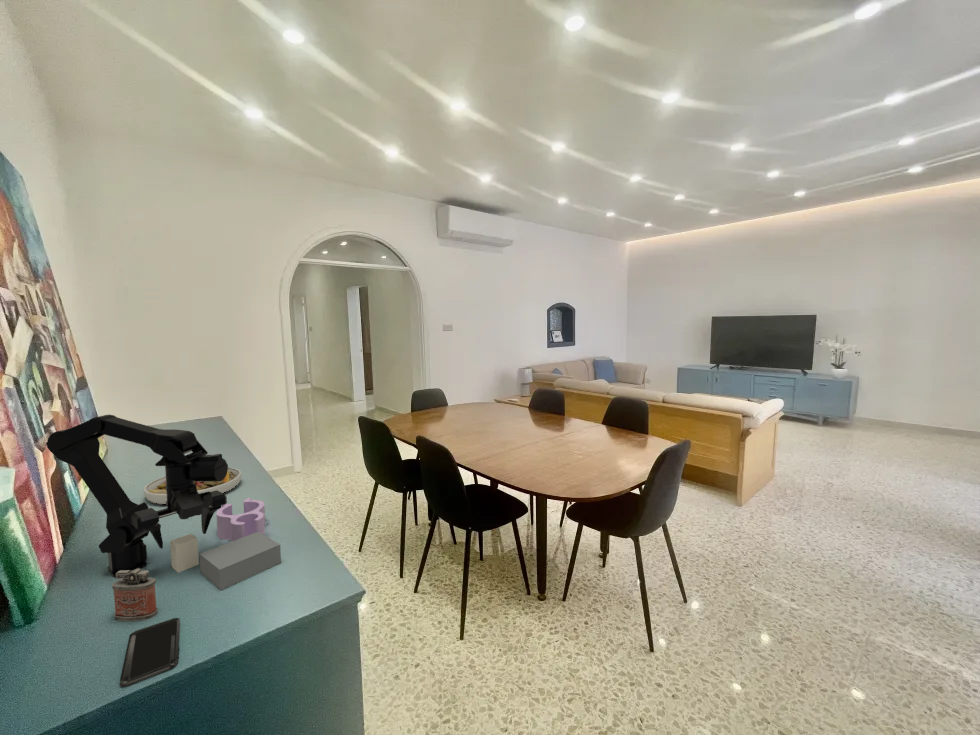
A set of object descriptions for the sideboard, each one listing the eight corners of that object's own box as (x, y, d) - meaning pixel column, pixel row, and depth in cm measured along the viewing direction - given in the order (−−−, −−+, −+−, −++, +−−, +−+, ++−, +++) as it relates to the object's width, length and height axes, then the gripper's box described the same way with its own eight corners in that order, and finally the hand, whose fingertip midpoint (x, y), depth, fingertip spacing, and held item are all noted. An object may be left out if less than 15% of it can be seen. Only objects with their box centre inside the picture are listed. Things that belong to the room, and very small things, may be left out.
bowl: (241, 497, 149) (240, 476, 148) (135, 515, 133) (134, 492, 132) (241, 474, 174) (240, 456, 173) (152, 487, 158) (151, 468, 157)
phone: (118, 685, 67) (130, 632, 79) (119, 691, 67) (130, 637, 79) (178, 662, 71) (180, 615, 83) (178, 668, 71) (180, 621, 83)
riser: (220, 590, 93) (219, 569, 93) (200, 572, 100) (199, 553, 100) (280, 562, 104) (280, 544, 104) (259, 548, 111) (258, 531, 111)
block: (177, 572, 100) (176, 545, 100) (171, 566, 103) (170, 540, 102) (198, 564, 104) (197, 538, 103) (192, 558, 106) (191, 533, 106)
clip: (275, 538, 118) (274, 515, 117) (225, 553, 109) (224, 529, 109) (259, 516, 132) (258, 495, 132) (213, 527, 124) (212, 506, 124)
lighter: (162, 609, 86) (159, 565, 86) (149, 620, 83) (146, 574, 82) (123, 610, 86) (120, 566, 85) (109, 621, 83) (106, 575, 82)
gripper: (143, 501, 89) (147, 567, 90) (234, 477, 105) (237, 535, 106) (128, 490, 96) (132, 552, 97) (216, 469, 111) (219, 523, 112)
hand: (183, 540), depth 103 cm, fingers open, 9 cm apart
